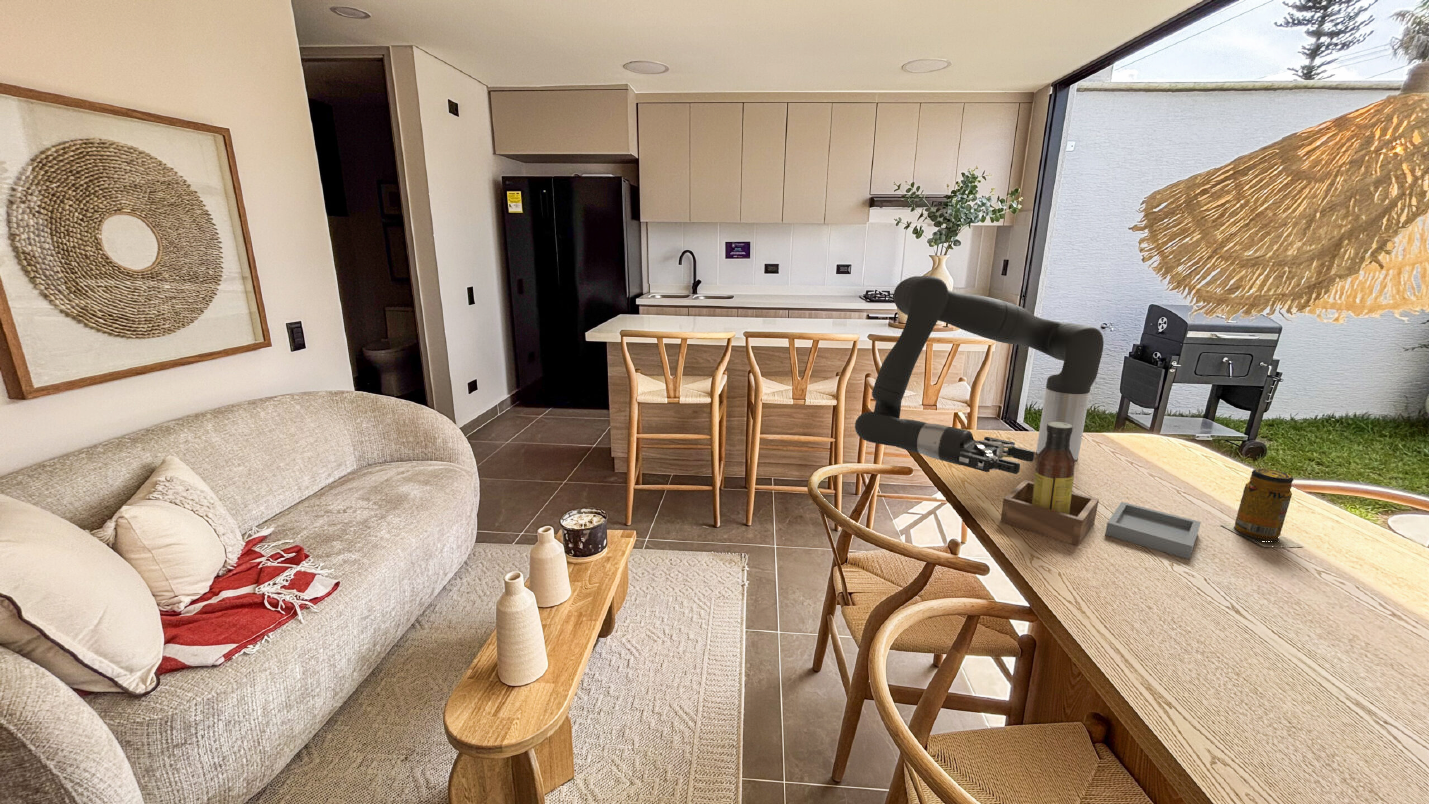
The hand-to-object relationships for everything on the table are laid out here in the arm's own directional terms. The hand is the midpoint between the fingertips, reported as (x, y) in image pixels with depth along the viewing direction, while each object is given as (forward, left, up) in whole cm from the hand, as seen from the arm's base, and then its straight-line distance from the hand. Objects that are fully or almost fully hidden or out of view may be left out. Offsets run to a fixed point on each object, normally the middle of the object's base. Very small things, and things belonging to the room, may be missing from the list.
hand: (1026, 462), depth 107 cm
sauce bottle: (0, +5, -11) cm, 12 cm away
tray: (-8, +20, -11) cm, 24 cm away
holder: (0, +5, -11) cm, 12 cm away
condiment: (-21, +34, -11) cm, 42 cm away
